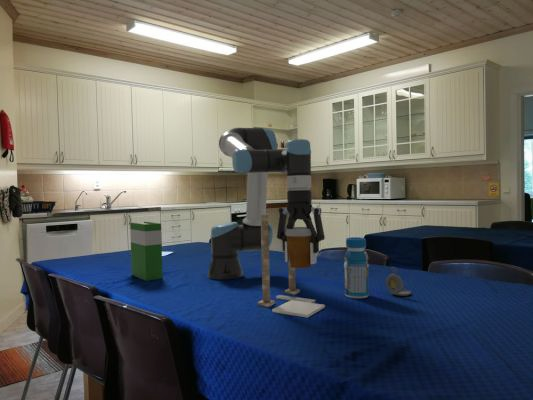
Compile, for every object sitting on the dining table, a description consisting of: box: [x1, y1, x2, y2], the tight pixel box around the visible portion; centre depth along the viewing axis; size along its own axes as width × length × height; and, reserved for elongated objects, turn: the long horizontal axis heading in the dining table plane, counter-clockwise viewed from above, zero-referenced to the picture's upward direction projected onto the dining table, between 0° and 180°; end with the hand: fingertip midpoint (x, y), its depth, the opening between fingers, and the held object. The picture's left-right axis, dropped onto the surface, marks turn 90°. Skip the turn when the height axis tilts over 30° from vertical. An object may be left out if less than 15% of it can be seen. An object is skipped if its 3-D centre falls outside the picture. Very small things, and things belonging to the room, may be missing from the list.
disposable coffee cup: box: [285, 226, 312, 269], centre depth 128 cm, size 10×10×12 cm
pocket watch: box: [385, 266, 412, 297], centre depth 143 cm, size 8×8×10 cm
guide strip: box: [275, 294, 317, 303], centre depth 137 cm, size 14×4×1 cm, turn 58°
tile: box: [271, 300, 326, 318], centre depth 127 cm, size 12×12×1 cm
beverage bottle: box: [343, 236, 370, 299], centre depth 142 cm, size 8×8×20 cm
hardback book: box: [129, 221, 164, 282], centre depth 184 cm, size 18×7×24 cm, turn 38°
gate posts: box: [257, 212, 301, 308], centre depth 141 cm, size 4×22×29 cm, turn 148°
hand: (300, 262), depth 128 cm, fingers closed on disposable coffee cup, 8 cm apart
